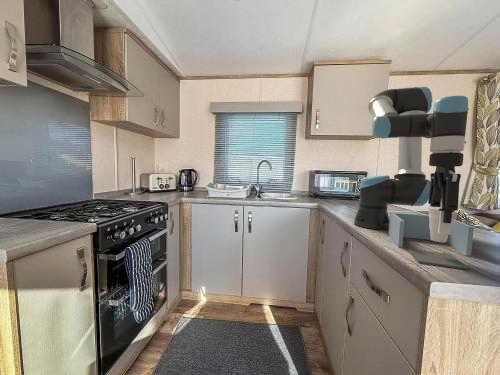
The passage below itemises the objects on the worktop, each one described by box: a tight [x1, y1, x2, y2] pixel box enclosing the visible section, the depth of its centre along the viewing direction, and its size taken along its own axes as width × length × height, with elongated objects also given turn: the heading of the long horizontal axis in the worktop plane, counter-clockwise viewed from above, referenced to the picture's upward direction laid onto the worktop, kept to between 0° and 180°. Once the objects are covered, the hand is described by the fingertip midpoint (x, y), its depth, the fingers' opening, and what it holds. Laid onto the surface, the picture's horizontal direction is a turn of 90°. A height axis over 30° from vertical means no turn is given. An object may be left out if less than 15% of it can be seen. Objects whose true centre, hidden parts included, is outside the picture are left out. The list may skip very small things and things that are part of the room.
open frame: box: [388, 212, 475, 257], centre depth 82 cm, size 17×19×9 cm
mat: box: [407, 248, 469, 271], centre depth 68 cm, size 11×11×1 cm
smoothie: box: [427, 201, 456, 243], centre depth 69 cm, size 6×6×14 cm
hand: (439, 230), depth 69 cm, fingers closed on smoothie, 6 cm apart
